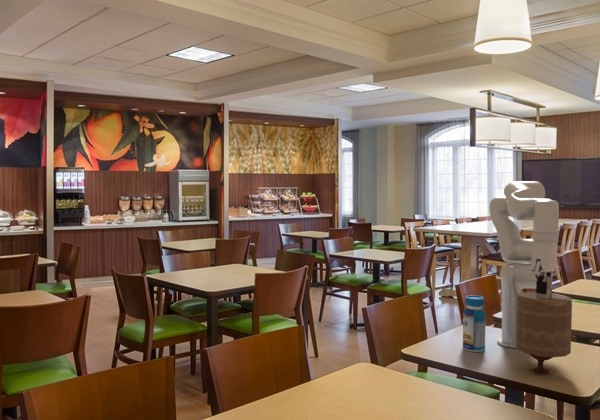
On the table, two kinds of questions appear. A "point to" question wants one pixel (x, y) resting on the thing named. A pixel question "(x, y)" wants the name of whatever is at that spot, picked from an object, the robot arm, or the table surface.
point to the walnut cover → (544, 323)
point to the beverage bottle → (474, 324)
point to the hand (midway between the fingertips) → (544, 291)
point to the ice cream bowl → (540, 365)
